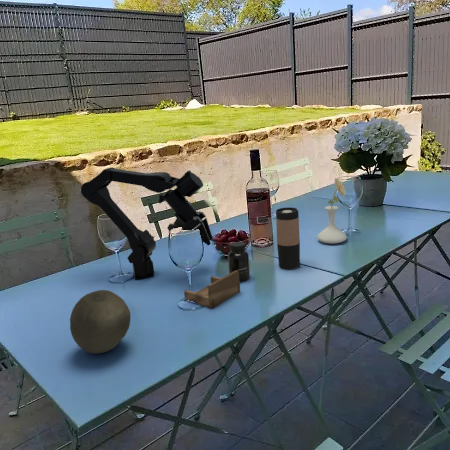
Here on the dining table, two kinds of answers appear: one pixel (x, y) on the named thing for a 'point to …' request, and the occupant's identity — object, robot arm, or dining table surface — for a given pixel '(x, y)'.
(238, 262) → the supplement bottle
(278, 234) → the travel mug
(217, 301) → the holder
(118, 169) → the robot arm
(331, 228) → the flower in vase
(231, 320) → the dining table surface
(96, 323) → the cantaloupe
